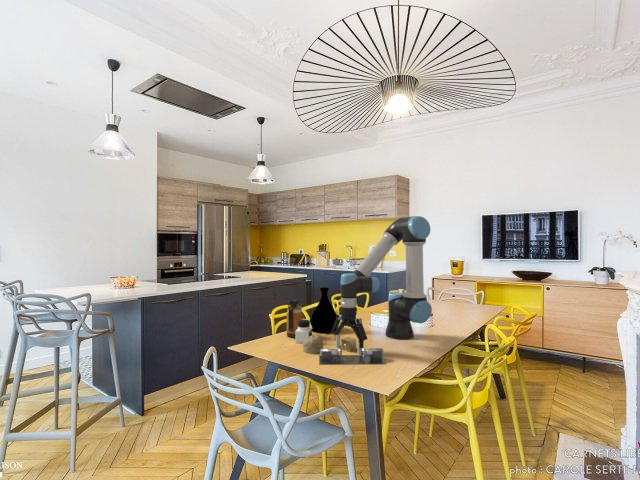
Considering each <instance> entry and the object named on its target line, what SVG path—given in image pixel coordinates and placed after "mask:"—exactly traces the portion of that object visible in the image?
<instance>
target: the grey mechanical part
mask: <svg viewBox="0 0 640 480" xmlns="http://www.w3.org/2000/svg"><path fill="white" fill-rule="evenodd" d="M360 355H361V356H362V358H363V359H364V358H365V357H368V356H370V359H371V360H372V361H382V357H383V356H384V349H383V348H379V347H378V348H367V349H366V348H365V347H363V348H361V353H360Z"/></svg>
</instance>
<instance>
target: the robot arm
mask: <svg viewBox="0 0 640 480" xmlns="http://www.w3.org/2000/svg"><path fill="white" fill-rule="evenodd" d="M430 233H431V225H430V222H429V220H427V219H426V218H425V217H423V216H420V215H413V216H406V217H404V216H403V217H399V218H397V219H395V220H394V221H393V222H392V223H391V224H390V225H389V226H388V227H386V229H385V230H384V231H383V233H382V237H381V238H380V240H379V241H378V242H377V243H376V245H374V246H373V248H372V249H371V250H370V252H369V253H368V254H367V255H366V257H365V258H364V259H363V260H362V261H361V262H360V264H359V265H358V266H357V267H356V269H355V270H353V272H352V273H349V272H347V273H342V274H341V276H340V282H339V283H340V284H339V285H340V306H341V307H340V314H337V315H336V320H335V323H334V325H333V328H332V330H331V332H332V333H331V334H333V335H334V341H335V342H334V343H335V345H334V346H335V348H340V347H341V334H340V333H341V331H342V330H343V328H344V327H348V328H351V329H352V331H353V333H354V334H355V335H356V339H358V340H357V344H356V350H357V355H360V354H361V348H365V347H364V345H365V344H364V342H365V341H366V340H368V336H367V333H366V330H365V327H364V325H363V320H362V318H361V317H360V318H357V314H358V312H357V311H358V309H357V306H358V305H357V304H358V301H357V297H358V296H357V295H358V294H368V293H371V294H372V293H377V292H378V291H379V290H380V287H381V285H380V284H381V283H380V279H379V278H378V277H377V276H370V275H371V274H372V273H373V272H374V270H375V269H376V268H377V266H379V265H380V263H382V260H384V258H385V257H386V256H387V254H389V252H390V251H391V249H392V248H393V247H394V246H397V245H398V244H399V243H400V242H401V241H402V244H403V245H404V246H405V281H406V283H405V284H406V285H405V286H406V287H405V288H406V289H405V290H406V292H405V293H393V294H392V293H391V294H389V295H388V300H387V302H388V322H387V325H386V328H385V336H386V337H387V338H390V339H395V340H410V339H413V338H414V335H415V333H414V329H413V327H412V323H415V324H424V323H426V322H427V321H428V320H429V319H430V318H431V316H432V314H433V308H432V304H431V303H429V302H428V295H427V294H426V293H425V292H424V291H425V289H424V245H425V244H427V238H428V237H429V236H430ZM411 322H412V323H411Z"/></svg>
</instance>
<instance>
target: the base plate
mask: <svg viewBox="0 0 640 480" xmlns="http://www.w3.org/2000/svg"><path fill="white" fill-rule="evenodd" d="M318 357H319V361H318V363H319V366H322V365H323V366H329V365H330V366H334V365H335V366H337V365H339V366H340V365H343V366H344V365H347V366H348V365H349V366H350V365H351V366H352V365H355V366H357V365H359V366H360V365H361V366H362V365H365V366H366V365H367V366H368V365H372V366H375V365H377V366H378V365H387V362H386V361H385V358H384V357H383V356H382V361H372V360H371V359H370V356H368V357H365V358H364V359H363V358H362V356H361V354H342V357H341V359H339V357H333V359H332V361H322V356H320V354H319V355H318Z"/></svg>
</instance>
